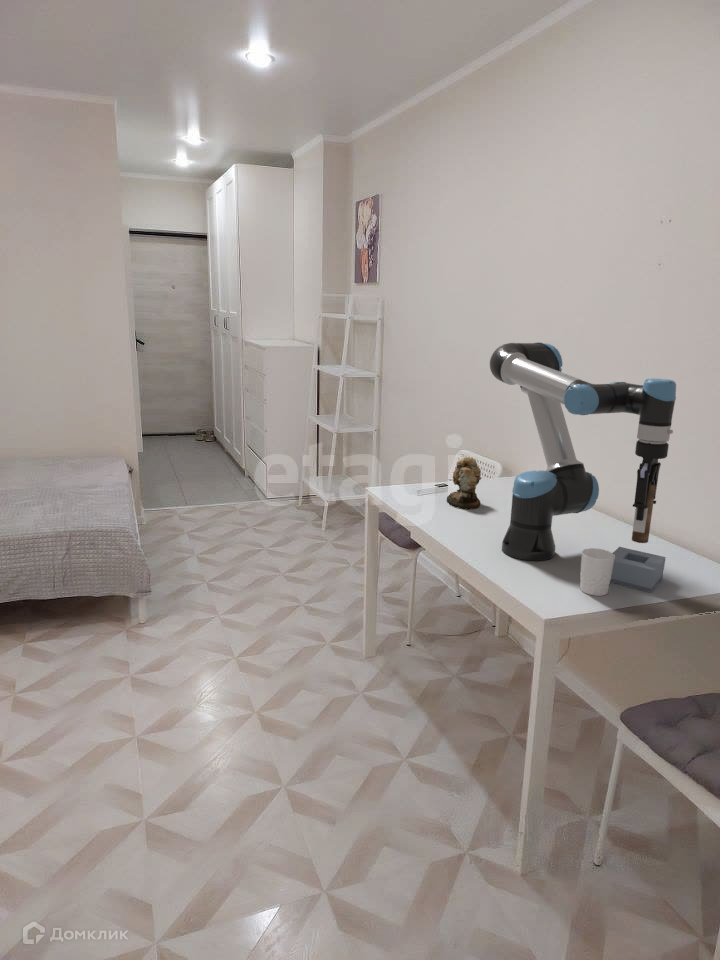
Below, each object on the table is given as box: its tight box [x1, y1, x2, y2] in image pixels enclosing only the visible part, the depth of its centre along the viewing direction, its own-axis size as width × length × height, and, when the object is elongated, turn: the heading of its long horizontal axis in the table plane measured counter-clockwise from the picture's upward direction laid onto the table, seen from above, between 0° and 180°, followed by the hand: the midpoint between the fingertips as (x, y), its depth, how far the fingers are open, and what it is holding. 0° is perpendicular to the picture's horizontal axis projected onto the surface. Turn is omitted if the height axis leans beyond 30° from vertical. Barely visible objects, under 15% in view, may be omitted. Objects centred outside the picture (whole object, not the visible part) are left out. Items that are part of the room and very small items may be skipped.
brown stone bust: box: [446, 456, 482, 510], centre depth 242 cm, size 18×12×17 cm, turn 6°
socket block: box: [610, 546, 666, 593], centre depth 178 cm, size 12×12×6 cm
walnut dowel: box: [631, 484, 656, 544], centre depth 174 cm, size 4×4×15 cm
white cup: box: [579, 547, 615, 597], centre depth 169 cm, size 8×8×10 cm
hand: (641, 529), depth 175 cm, fingers closed on walnut dowel, 4 cm apart
